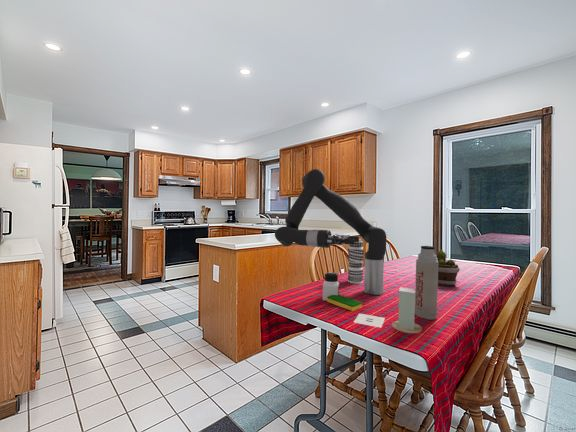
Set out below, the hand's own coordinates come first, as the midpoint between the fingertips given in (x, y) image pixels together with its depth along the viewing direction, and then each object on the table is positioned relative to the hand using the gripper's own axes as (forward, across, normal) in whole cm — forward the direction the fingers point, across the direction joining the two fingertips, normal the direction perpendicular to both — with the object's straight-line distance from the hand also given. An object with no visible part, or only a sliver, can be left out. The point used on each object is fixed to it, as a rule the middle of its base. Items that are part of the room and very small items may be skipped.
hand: (356, 240), depth 115 cm
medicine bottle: (-15, +12, +30) cm, 35 cm away
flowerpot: (+35, +68, +31) cm, 82 cm away
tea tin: (+20, -6, +29) cm, 36 cm away
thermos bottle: (+26, +10, +30) cm, 41 cm away
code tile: (+6, -6, +30) cm, 31 cm away
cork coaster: (+20, -6, +30) cm, 36 cm away
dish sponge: (-7, +6, +30) cm, 31 cm away
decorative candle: (-11, +48, +30) cm, 58 cm away
